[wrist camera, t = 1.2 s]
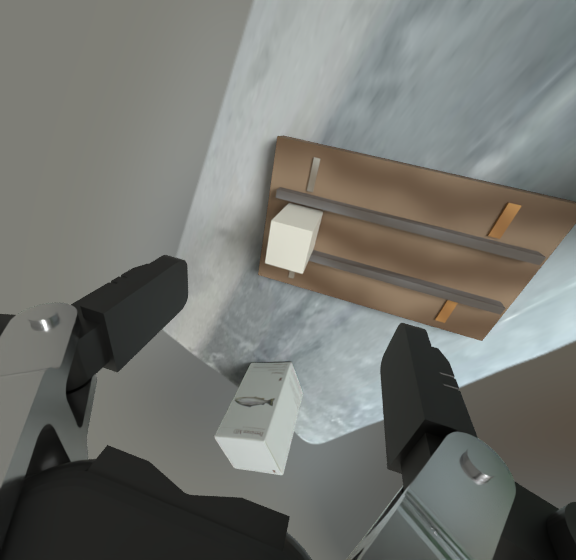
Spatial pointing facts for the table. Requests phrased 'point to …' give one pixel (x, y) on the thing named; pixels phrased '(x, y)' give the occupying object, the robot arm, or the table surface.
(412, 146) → the table surface
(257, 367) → the supplement box
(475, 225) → the fader console
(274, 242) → the fader tab
